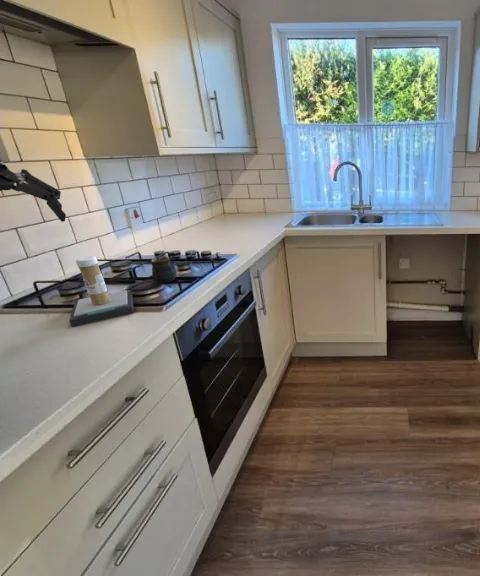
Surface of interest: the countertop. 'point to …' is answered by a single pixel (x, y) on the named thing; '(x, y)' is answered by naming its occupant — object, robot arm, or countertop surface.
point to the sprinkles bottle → (93, 280)
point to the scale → (101, 308)
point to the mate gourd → (163, 270)
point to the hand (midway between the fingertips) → (32, 223)
